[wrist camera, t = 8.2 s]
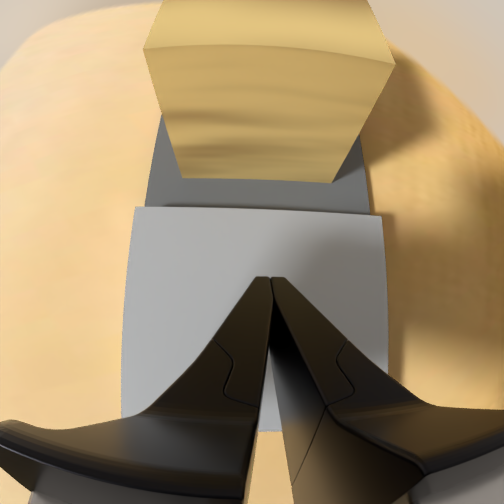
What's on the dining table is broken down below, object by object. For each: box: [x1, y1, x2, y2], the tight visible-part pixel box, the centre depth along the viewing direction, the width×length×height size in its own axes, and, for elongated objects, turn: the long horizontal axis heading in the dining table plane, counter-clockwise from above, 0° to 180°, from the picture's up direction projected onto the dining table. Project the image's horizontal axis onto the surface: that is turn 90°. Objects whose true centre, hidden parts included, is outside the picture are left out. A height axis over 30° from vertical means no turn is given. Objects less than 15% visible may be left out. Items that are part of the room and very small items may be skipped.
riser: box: [121, 207, 388, 432], centre depth 15 cm, size 10×12×2 cm
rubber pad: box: [145, 115, 370, 215], centre depth 18 cm, size 11×12×1 cm
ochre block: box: [143, 0, 396, 183], centre depth 14 cm, size 8×8×9 cm
